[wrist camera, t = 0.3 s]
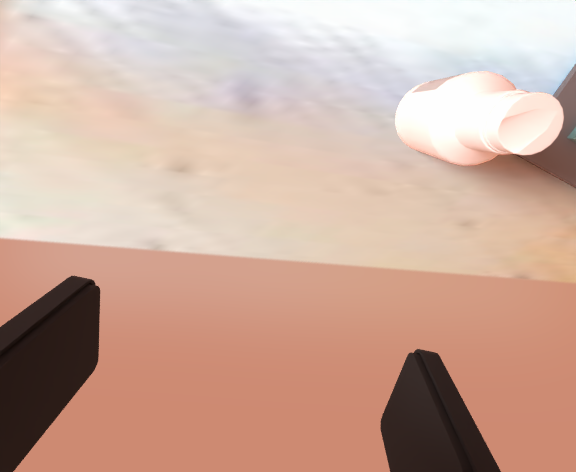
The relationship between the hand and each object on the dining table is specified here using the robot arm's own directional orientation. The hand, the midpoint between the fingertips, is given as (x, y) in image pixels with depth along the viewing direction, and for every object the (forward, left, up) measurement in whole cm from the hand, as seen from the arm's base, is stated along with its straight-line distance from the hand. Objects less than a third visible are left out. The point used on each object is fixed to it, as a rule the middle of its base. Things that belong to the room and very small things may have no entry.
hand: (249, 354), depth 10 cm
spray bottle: (-12, +10, -31) cm, 35 cm away
